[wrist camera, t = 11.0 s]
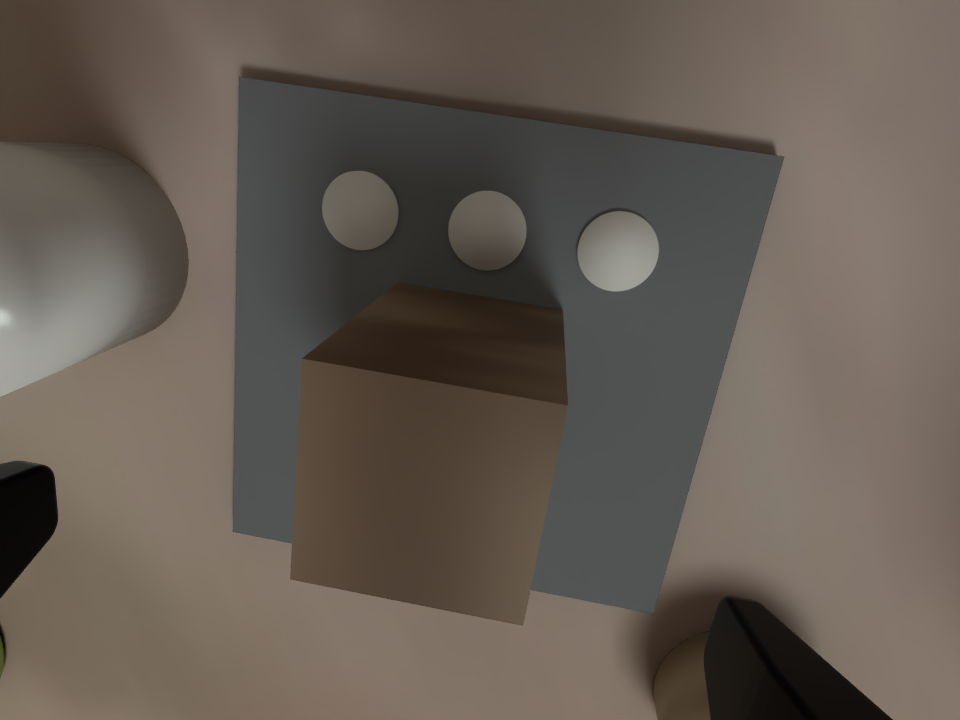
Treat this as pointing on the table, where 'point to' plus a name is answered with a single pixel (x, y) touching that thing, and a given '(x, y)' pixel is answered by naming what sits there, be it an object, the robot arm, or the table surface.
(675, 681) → the beige round knob
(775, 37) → the table surface
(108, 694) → the table surface
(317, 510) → the walnut block
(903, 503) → the table surface
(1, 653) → the plant pot
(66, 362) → the white rounded block
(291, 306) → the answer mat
